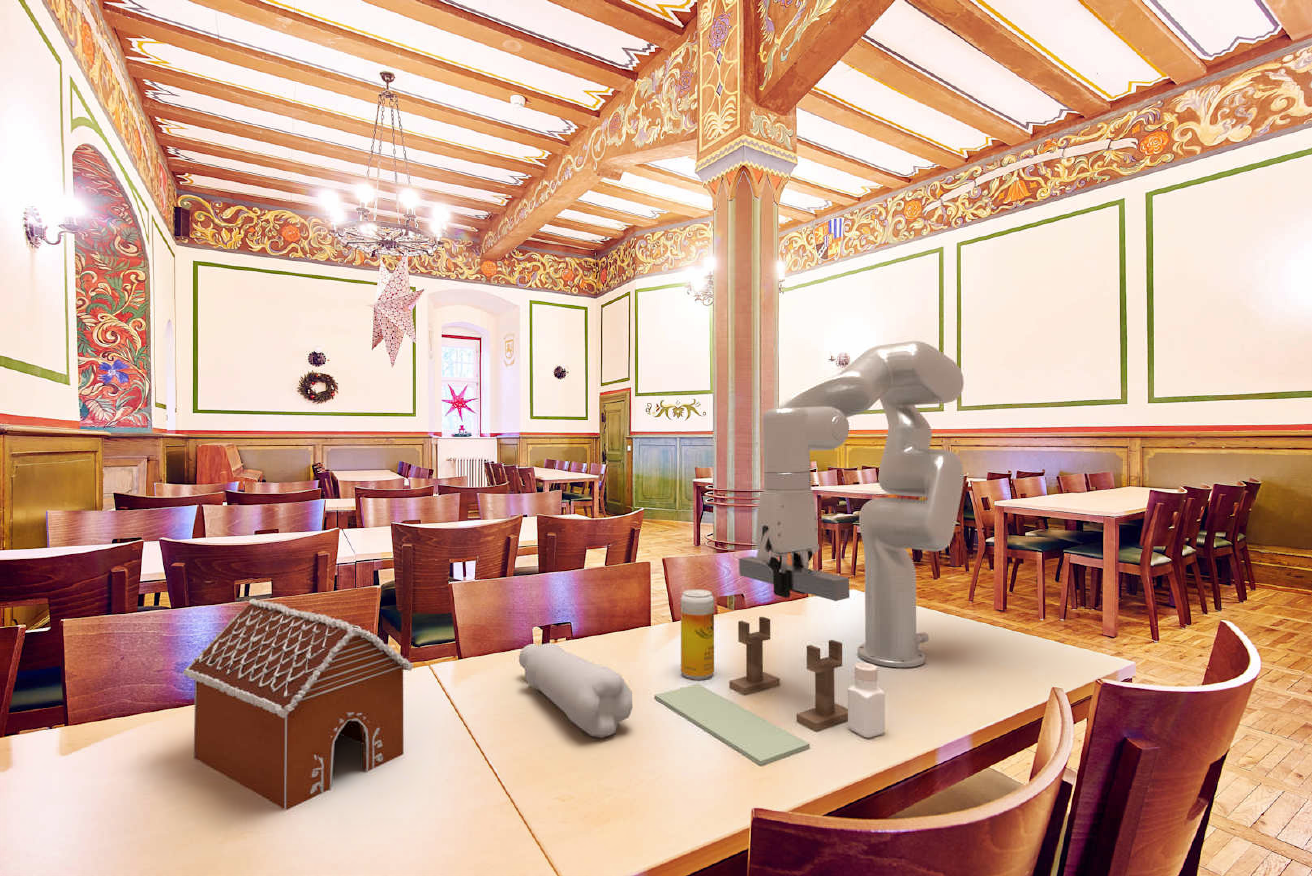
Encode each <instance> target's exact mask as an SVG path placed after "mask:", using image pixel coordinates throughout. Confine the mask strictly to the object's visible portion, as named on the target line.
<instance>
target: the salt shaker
mask: <svg viewBox="0 0 1312 876" xmlns="http://www.w3.org/2000/svg"><path fill="white" fill-rule="evenodd" d="M885 696H886V694H885V692H884V691H883V690H882V689H881V688H880V687H878V667H877V665H876V664H874V663H870V662H858V663H855V664H854V684H852V685H851V686H849V687H848V688H847V709H848V721H847V727H848V729H849V730H850V731H852V732H854V733H856V734H858V735H859V736H862V737H863V738H870V739H871V738H872V737H877V736H879V735H883V734H884V733H885V731H886V701H885V700H886V697H885Z"/></svg>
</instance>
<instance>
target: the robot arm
mask: <svg viewBox="0 0 1312 876" xmlns="http://www.w3.org/2000/svg"><path fill="white" fill-rule="evenodd" d="M958 365H959V364H957V363H956V362H955V361H954V360H953V359H951V358H950V357H949V356H947V355H946V354H944V353H943V352H941V350H939V349H938V348H935V346H932V345H930V344H928V343H926V342H923V341H920V340H912V341H905V342H904V341H903V342H899V343H898V342H897V343H890V344H889V343H888V344H882V345H877V346H874V347H872V348H871V347H870V348H869V349H867V350H865V352H863V353H862V354H860V356H859V357H857V358H856V359H855V360H854V361H853V362H851V363H850V364H849V365H847V367H845V369H843V370H842V371H841V372H840V373H838V374H837V375H834V376H832V377H830V378H827V379H825V380H823V381H821V382H819V383H817V384H814V385H811V386H810V387H807V388H805V389H803V390H801V391H799V392H797V393H796V394H795V393H794V394H793V395H791V396H790V397H788V398H787V399H786V400H785V401H784V402H782V403H781V404H780V405H779V406H777V407H775V408H774V407H773V408H770V409H766V410H765V411H764V412H763V415H762V418H761V419H762V421H761V423H762V424H761V425H762V455H763V456H762V457H763V489H764V490H763V491H761V492H760V494H759V498H758V502H757V503H758V505H757V513H756V514H757V515H756V526H755V527H756V530H755V533H756V534H755V541H756V548H757V553H756V557H757V558H758V559H760V560H762V561H764V562H766V564H767V565H768V566H769V567H770V570H771V571H773V583H774V584H773V593H774V596H779V597H783V598H786V599H787V598H790V597H791V592H794V593H797V594H801V595H804V594H807V593H804V592H800V591H796V590H793V589H790V580H789V573H787V572H786V571H787V564H788V554H790V557H791V565H793V566H797V567H802V568H806V569H809V567H810V561H811V560H812V558H813V556H814V555H815V554H816V553H817V552H818V551H819V550H820V545H819V542H818V539H819V537H818V534H819V533H818V531H819V530H818V518H817V509H816V503H815V497H814V491H813V489H812V488H811V485H812V484H811V481H812V480H813V476H812V474H811V458H810V457H811V456H810V455H811V454H810V453H811V451H831V450H836V449H837V448H839V447H841V446H842V445H844V443H845V442H846V441H847V439H848V436H849V432H850V423H849V420H848V418H850V417H853V416H856V415H860V414H861V413H864V412H866V411H868V410H869V409H871V408H872V406H874V404H876V403H877V402H878V400H879V401H880V404H881V406H882V410H883V411H884V414H885V416H886V417H885V418H886V419H887V424H888V430H887V431H888V432H887V434H886V435H887V437H886V441H885V446H884V448H883V453H882V457H881V461H880V464H879V465H880V466H879V470H878V476H877V477H878V484H879V487H880V488H881V489H882V490H883V491H884V492H886V493H888V494H891V495H897V496H904V497H906V496H907V497H908V496H909V497H921V498H926V499H923V500H922V499H910V498H900V497H899V498H898V497H877V498H872V499H870V500H868V501H867V502H865V504H863V506H862V507H861V509H860V511H859V517H858V523H859V531H860V535H861V539H862V544H863V556H864V616H865V617H864V618H865V619H864V623H865V629H864V630H865V632H864V633H865V636H864V637H865V640H864V641H865V643H861V644H860V645H859V646H857V653H856V654H857V655H858V657H859V658H861V659H862V660H864V661H865V662H867V663H870V664H873V665H879V666H883V667H884V666H885V667H891V668H914V667H918V666H921V665H923V664H924V663H925V662H926V655H925V653H924V652H923V651H922V650H920V649H919V645H920V644H923V643H927V642H928V641H929V640H930V638H929V634H928V633H927V632H924V631H923V632H922V631H921V632H919V633H918V632H917V573H916V572H917V571H916V566H915V563H914V561H913V559H912V558H911V556H910V554H909V553H908V551H907V549H911V550H912V549H913V550H918V551H919V550H920V551H927V552H939V551H943V550H946V549H947V548H948V546H950V544H951V542H952V539H953V537H954V532H955V528H956V524H957V519H958V514H959V513H958V512H959V509H960V504H961V503H960V502H961V498H962V494H963V489H964V488H963V487H964V479H965V478H964V477H965V475H964V467H963V463H962V461H961V459H960V457H959V456H958V454H957V453H955V452H954V451H951V450H949V449H940V448H939V449H937V448H930V447H931V441H932V437H933V435H932V434H933V432H932V428H931V425H930V424H929V422H928V421H927V419H926V418H925V417H924V416H923V414H922V413H921V412H920V411H919V410H918V408H917V407H916V406H920V405H922V406H923V405H938V404H941V405H942V404H949V403H952V402H954V401H956V400H957V399H958V398H959V397H960V396H961V395H962V392H963V390H964V385H965V384H964V383H965V382H964V376H963V372H962V370H961V368H960V366H958ZM778 558H779V560H778Z"/></svg>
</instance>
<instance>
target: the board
mask: <svg viewBox="0 0 1312 876" xmlns="http://www.w3.org/2000/svg"><path fill="white" fill-rule="evenodd" d="M654 699H655V701H658V702H659V703H660V704H663V705H664V706H665V707H667V708H668V709H670V710H672V711H674V712H675V713H677V714H678V715H680V716H681V717H683V718H684V719H686V720H687V721H689V722H691V723H693V724H694V725H696V726H697V727H699V728H700V729H702V730H704V731H705V732H706V733H708V734H710V735H711V736H713V737H715V738H716V739H718V740H719V741H721V742H722V743H724V744H726V745H727V746H729V747H730V748H732V749H733V750H736V751H737V752H738V753H740V754H742V755H743V756H745V757H746V758H748V759H750V760H751V761H752V762H754V763H755V764H757V765H758V766H765V765H767V764H770V763H772V762H775V761H777V760H781V759H783V758H786V757H789V756H791V755H794V754H797V753H800V752H803V751H805V750H806V751H807V750H808V749H811V744H810V742H808V741H806V740H804V739H802V738H800V737H798V736H796V735H794V734H792V733H791V732H789V731H788V730H785V729H783V728H782V727H780V726H778V725H776V724H774V723H772V722H770V721H769V720H766V719H765V718H763V717H761V716H759V715H757V714H755V713H753V712H751V711H750V710H748V709H747V708H746V709H745V708H744V707H742V706H740V705H738V704H736V703H734V702H733V701H731V700H729V699H727V698H725V697H723V696H722V695H720V694H717V693H716V692H714V691H712V690H710V689H708V688H706V687H705V686H703V685H701V684H699V683H696V684H693V685H689V686H684V687H680V688H676V689H672V690H668V691H664V692H661V693H657V694H654Z"/></svg>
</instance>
